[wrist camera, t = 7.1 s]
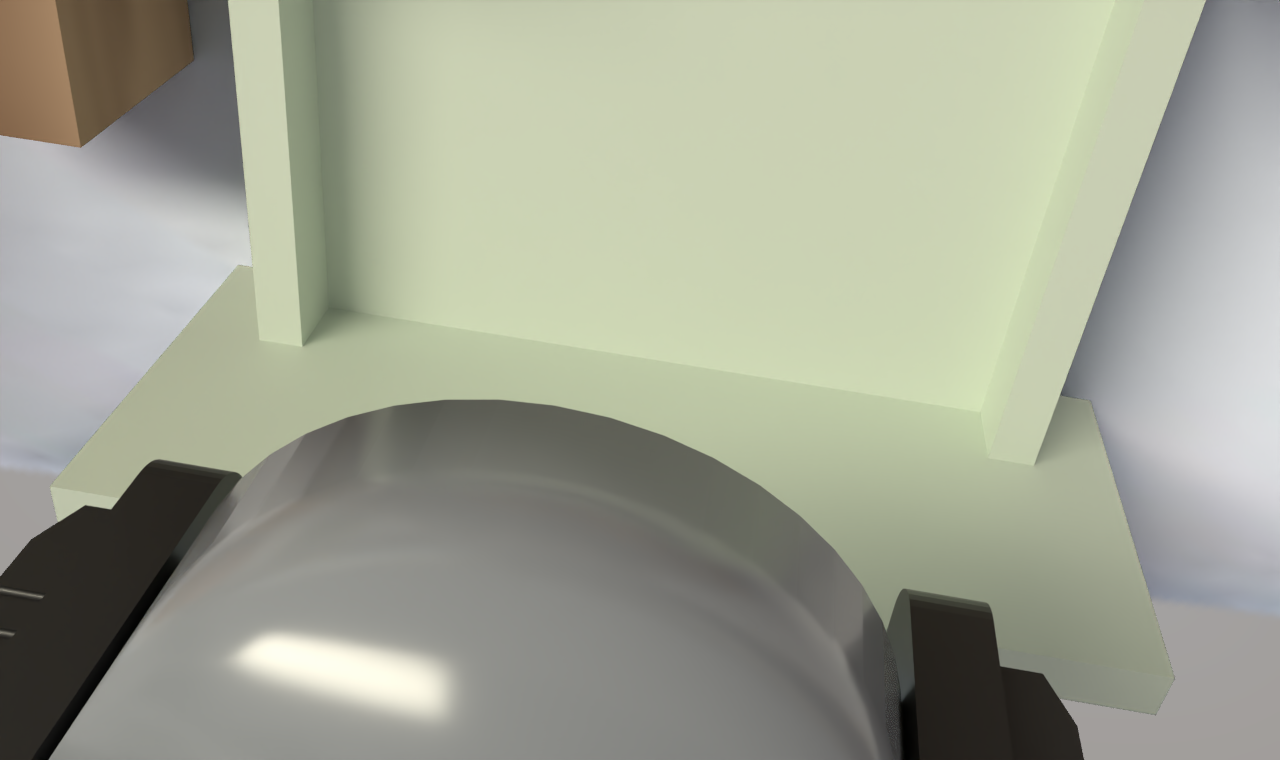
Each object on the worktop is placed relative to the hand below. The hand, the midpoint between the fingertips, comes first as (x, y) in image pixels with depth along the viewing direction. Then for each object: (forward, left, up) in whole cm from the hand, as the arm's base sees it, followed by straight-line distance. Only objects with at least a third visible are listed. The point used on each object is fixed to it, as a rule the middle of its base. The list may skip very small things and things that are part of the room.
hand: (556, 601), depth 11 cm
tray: (0, +2, -12) cm, 12 cm away
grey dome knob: (0, 0, +1) cm, 1 cm away
